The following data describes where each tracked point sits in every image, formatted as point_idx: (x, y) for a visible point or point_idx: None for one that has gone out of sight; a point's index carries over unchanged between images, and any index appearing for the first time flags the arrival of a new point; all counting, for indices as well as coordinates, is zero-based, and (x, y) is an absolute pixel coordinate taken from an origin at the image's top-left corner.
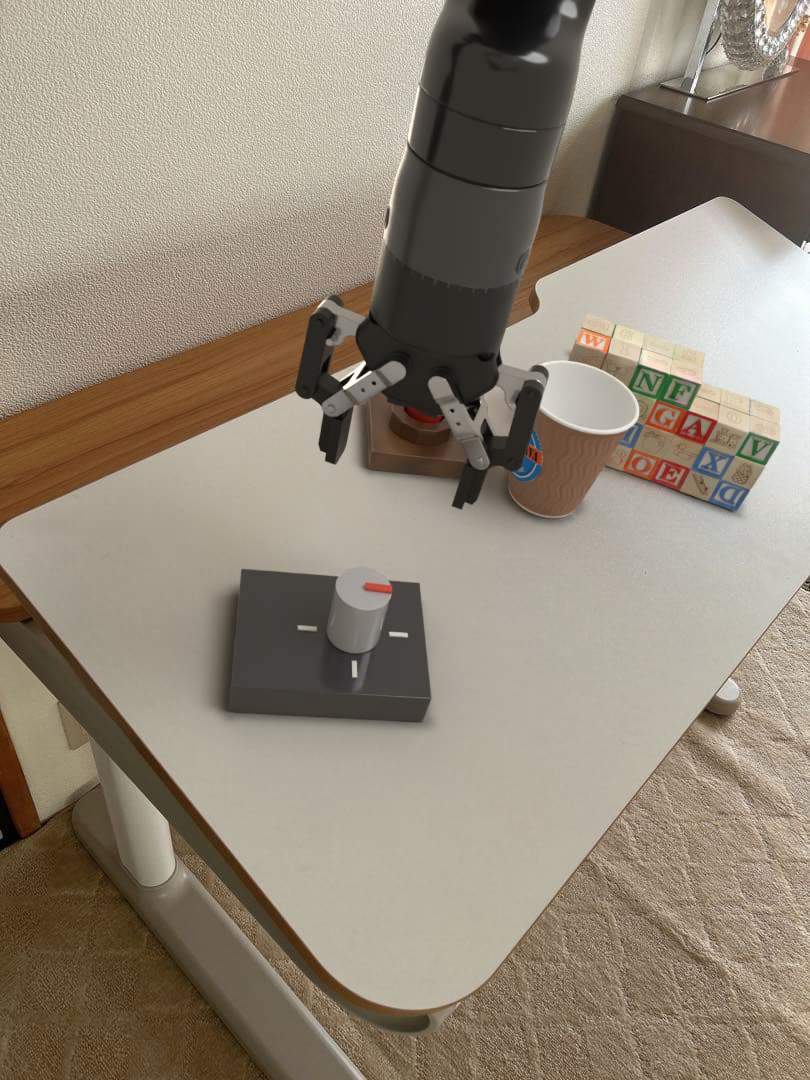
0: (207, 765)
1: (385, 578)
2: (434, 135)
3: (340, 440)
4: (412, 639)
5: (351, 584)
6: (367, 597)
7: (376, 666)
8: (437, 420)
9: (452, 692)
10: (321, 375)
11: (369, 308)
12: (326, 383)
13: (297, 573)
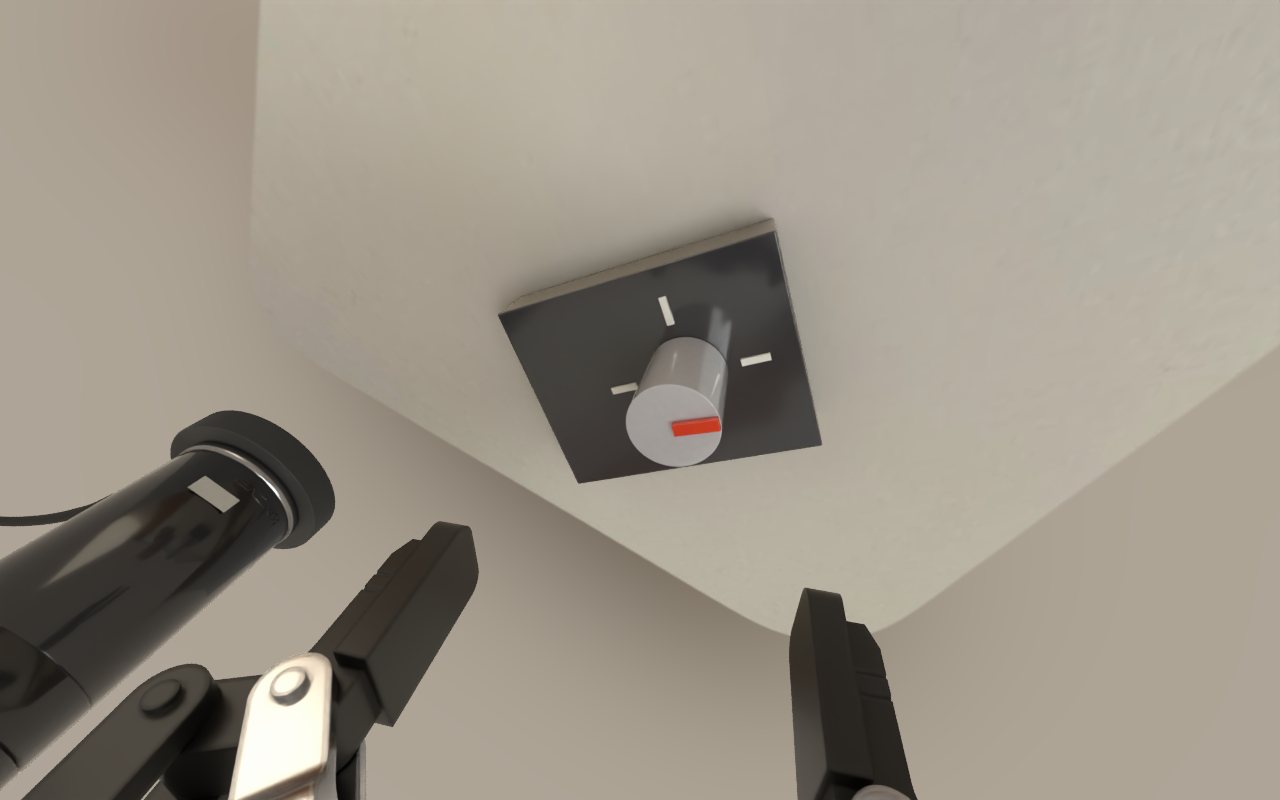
0: (600, 506)
1: (703, 399)
2: None
3: (436, 640)
4: (780, 358)
5: (651, 427)
6: (684, 445)
7: (734, 417)
8: None
9: (857, 360)
10: (188, 771)
11: None
12: (231, 779)
13: (571, 294)
